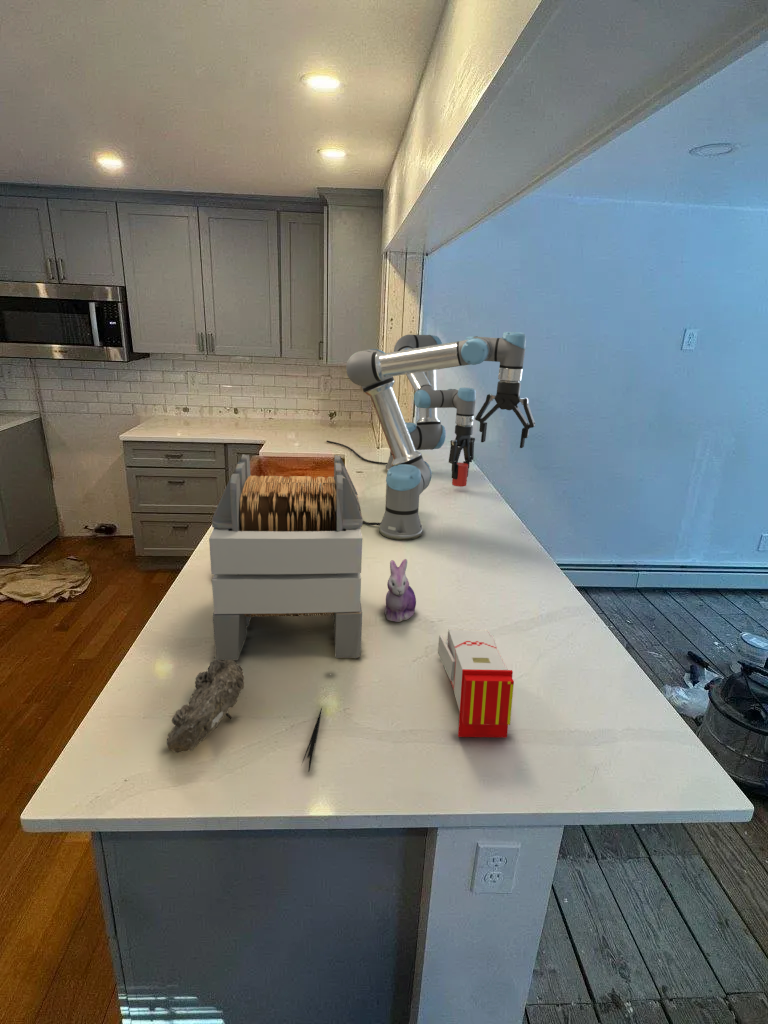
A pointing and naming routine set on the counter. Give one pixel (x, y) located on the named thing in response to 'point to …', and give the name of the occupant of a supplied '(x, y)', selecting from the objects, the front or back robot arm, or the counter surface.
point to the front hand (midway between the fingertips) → (502, 444)
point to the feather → (313, 740)
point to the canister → (461, 475)
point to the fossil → (206, 705)
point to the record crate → (286, 555)
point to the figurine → (399, 594)
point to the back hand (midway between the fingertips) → (459, 477)
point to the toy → (478, 682)
